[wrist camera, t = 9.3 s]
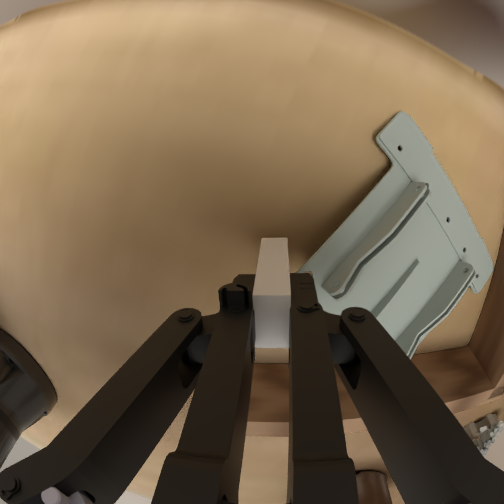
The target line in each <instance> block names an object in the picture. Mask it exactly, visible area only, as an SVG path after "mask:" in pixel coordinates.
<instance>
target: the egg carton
mask: <svg viewBox="0 0 504 504" xmlns="http://www.w3.org/2000/svg"><path fill="white" fill-rule="evenodd" d="M503 428H504V424H503V421H500V422H499V421H498V419H497V416H496V414H493V415H492V413H490V414H488V415H486V416H485V418H484V419H482V420H481V421H480V422H478V423H474V422H472V423H470V424H468V425H467V426H466V427H465V428H464V430H465V431H466V433H467V434H468V435H469V437H470V438H471V440H472V441H473V442H474V444H475V445H476V447H477V448H478V450H479V451H480V452H481V454H482V455H486V453H487V450H488V448H489V446H491V443H494V441H495V438H496V437H497V436H498V434H499V432H500V431H501V430H503ZM481 432H482V433H481ZM479 437H481V439H479V440H478V441H477V439H478V438H479Z"/></svg>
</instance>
